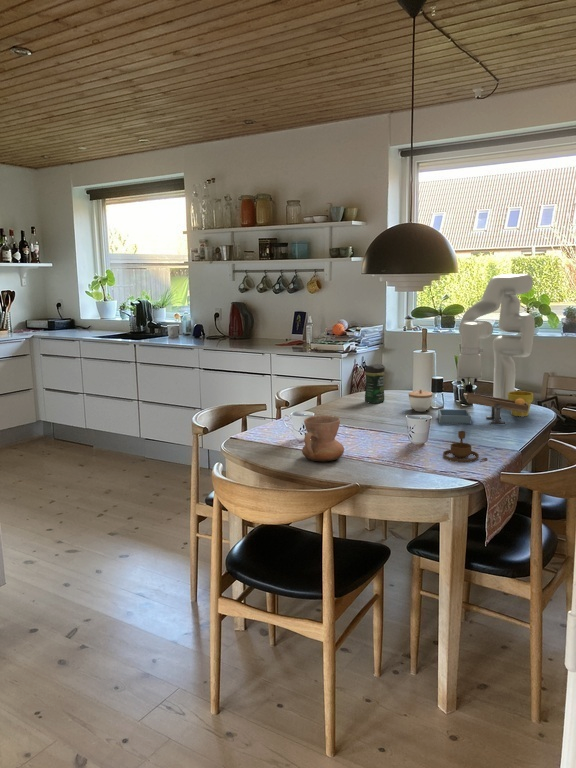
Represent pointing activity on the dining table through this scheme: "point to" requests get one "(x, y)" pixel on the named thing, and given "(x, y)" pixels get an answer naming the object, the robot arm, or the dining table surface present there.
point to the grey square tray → (454, 416)
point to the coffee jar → (374, 383)
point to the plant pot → (523, 395)
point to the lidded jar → (420, 400)
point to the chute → (495, 402)
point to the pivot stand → (495, 415)
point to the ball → (520, 401)
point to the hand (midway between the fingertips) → (468, 393)
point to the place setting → (461, 450)
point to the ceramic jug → (322, 438)
